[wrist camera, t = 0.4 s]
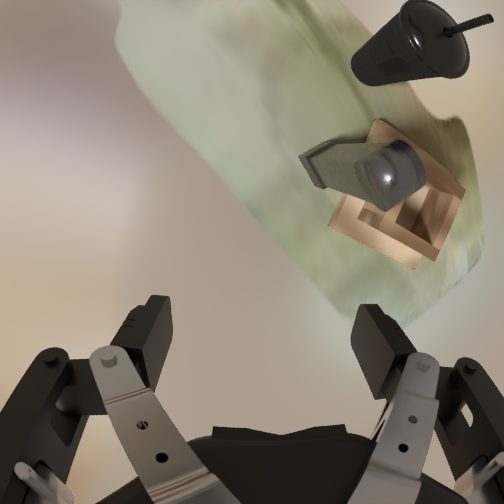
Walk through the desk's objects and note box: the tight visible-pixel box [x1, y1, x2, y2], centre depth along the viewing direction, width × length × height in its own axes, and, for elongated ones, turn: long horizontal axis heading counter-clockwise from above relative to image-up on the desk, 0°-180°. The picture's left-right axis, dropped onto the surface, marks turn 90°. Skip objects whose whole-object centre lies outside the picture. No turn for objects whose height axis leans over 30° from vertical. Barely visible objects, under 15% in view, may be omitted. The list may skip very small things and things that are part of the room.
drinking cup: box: [351, 0, 494, 86], centre depth 18 cm, size 8×8×20 cm
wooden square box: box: [328, 119, 465, 269], centre depth 29 cm, size 14×14×6 cm
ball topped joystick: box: [298, 139, 426, 212], centre depth 23 cm, size 4×3×17 cm
